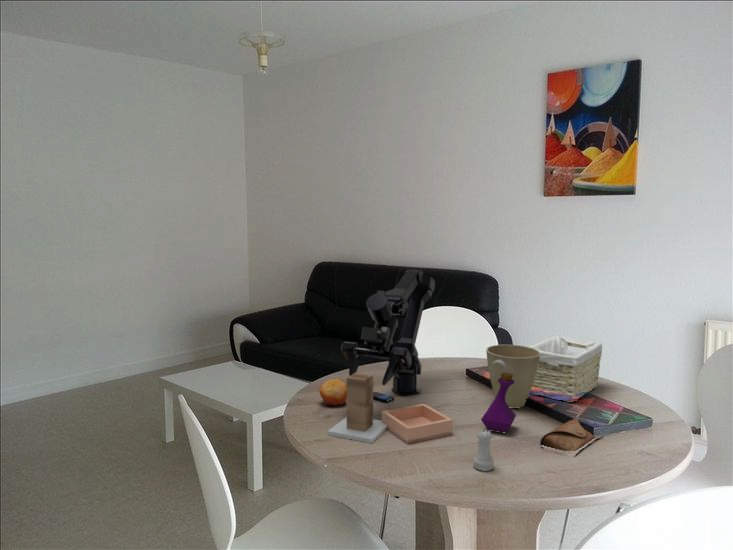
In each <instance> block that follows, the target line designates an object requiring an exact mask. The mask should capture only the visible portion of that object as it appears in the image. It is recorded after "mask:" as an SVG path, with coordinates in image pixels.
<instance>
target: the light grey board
mask: <svg viewBox="0 0 733 550" xmlns="http://www.w3.org/2000/svg"><path fill="white" fill-rule="evenodd" d="M386 431H388V430H387V425H386V424H384V423H383V422H382V420H379V419H374V418H373V425H372V426H371V427H370V428H369V429H367V430H366V431H365V432H363V431H358V430H352V429H347V416H345V418H343V419H341V420H340V421H339V422H338V423H336V424H335V425H334V426H332V427H331V428H329V430H327V436H331V437H335V438H340V439H346V440H347V439H348V440H351V439H352V441H357V442H362V443H367V444H374V443H375V442H376V441H377V440H378V439H379V438H380V437H381V436H382V435H383V434H384V433H385V432H386Z"/></svg>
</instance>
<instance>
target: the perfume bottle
mask: <svg viewBox="0 0 733 550" xmlns="http://www.w3.org/2000/svg"><path fill="white" fill-rule="evenodd" d="M495 362H498V363H500V364H502V365H503V366H504V367H505V368H506V364H505V363H504V362H503V361H502V360H496V361H494V362H493V364H494V363H495ZM493 364H492V368H493ZM512 376H513V374H512V373H507V368H506V373H502V374H501V378H500V379H498V382H499V383H500V389H499V391H498V393H497V395H496V397H494V399H493V401H492V402H491V404H490V405H489V406H488V408H487V410H486V411H485V413H484V415H483V416H482V418H481V419H480V420H481V422H482V423H483V425H484V426H485V427H486V430H487V431H489V430H493V431H499V432H506V433H507V432H508V431H509V429H510V428H511V427H512V424H513V423H514V421H515V419H516V417H517V414H516V413H515V411H513V409H510V408H509V406H508V405H507V403H506V400H505V396H506V392H507V390H508V388H509V387H510V386H511V385H512V384H514V380H512Z"/></svg>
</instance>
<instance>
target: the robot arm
mask: <svg viewBox="0 0 733 550" xmlns="http://www.w3.org/2000/svg"><path fill="white" fill-rule="evenodd" d="M435 287H436V281H435V279H434V278H433V277H432V276H431V275H428V274H427V273H424V272H423V271H422V270H420V269H407V270H405V272H404V275H403V276H402V278H400V280H399V281H398V283H397V284H396V285H395V286H394V288H393V289H390V290H386V291H385V290H377V291H376V293H374V294H372V295H370V296H369V297H368V298H367V299H366V302H365V305H366V308H367V309H368V312H369V313H370V314H369V315H370V316H371V319H372V320H373V321H374V322H375V324H374V326H373V327H366V326H363V327H362V330H361V336H360V340H363V342H364V343H363V344H364V347H366V348H361V347H360V346H359V345H358V342H352V341H351V342H350V341H344V342H342V344H341V347H340V351H341V353H342V355H343V356H344V359H345V360H347V361H348V368H349V369H348V370H349V371H348V377H349V376H351V375H352V374H354V373H357V371H358V369H359V366H360V363H361V362H360V360H361V358H362V357H366V358H367V357H370V358H376V359H383V360H384V359H385V360H388V365H387V367H386V370H385V372H384V376H383V379H382V382H381V384H382V386H386V385H387V384H388V382H390V380H392V388H391V391H392V392H394V393H395V394H397V395H399V396H402V397H403V396H410V395H415V394H420V391H419V390H418V389H417V387H418V385H417V384H418V383H417V381H418V380H417V378H418V377H417V375H421V374H422V373H421V372H422V363H421V361H420V359H419V353H418V349H417V346H416V342H417V338H418V333H419V329H420V324H421V320H422V317H423V316H422V315H423V311H424V306H425V304H426V303H427V302H428V301H429V300H430V299H431V298H432V295H433V292H434V291H435V289H436V288H435ZM409 298H410V299H409ZM408 299H409V303H408ZM406 311H407V312H406ZM405 312H406V315H405V319H404V323H403V327H402V331H401V335H400V339H398V341H393V338H394V335H395V332H396V329H399V320H398V318H397V316H403V315H404V314H405ZM391 346H392V348H391V351H389V350H390V347H391Z"/></svg>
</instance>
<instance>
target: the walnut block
mask: <svg viewBox="0 0 733 550" xmlns="http://www.w3.org/2000/svg"><path fill="white" fill-rule="evenodd" d="M346 386H347V398H346V417H347V429H352V430H358V431H363V432H365V431H366V430H367V429H369V428H370V427H371V426H372V425H373V419H374V375H373V374H367V373H361V372H356V373H354V374H352V375H351V376H349V375H348V377H346Z"/></svg>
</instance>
